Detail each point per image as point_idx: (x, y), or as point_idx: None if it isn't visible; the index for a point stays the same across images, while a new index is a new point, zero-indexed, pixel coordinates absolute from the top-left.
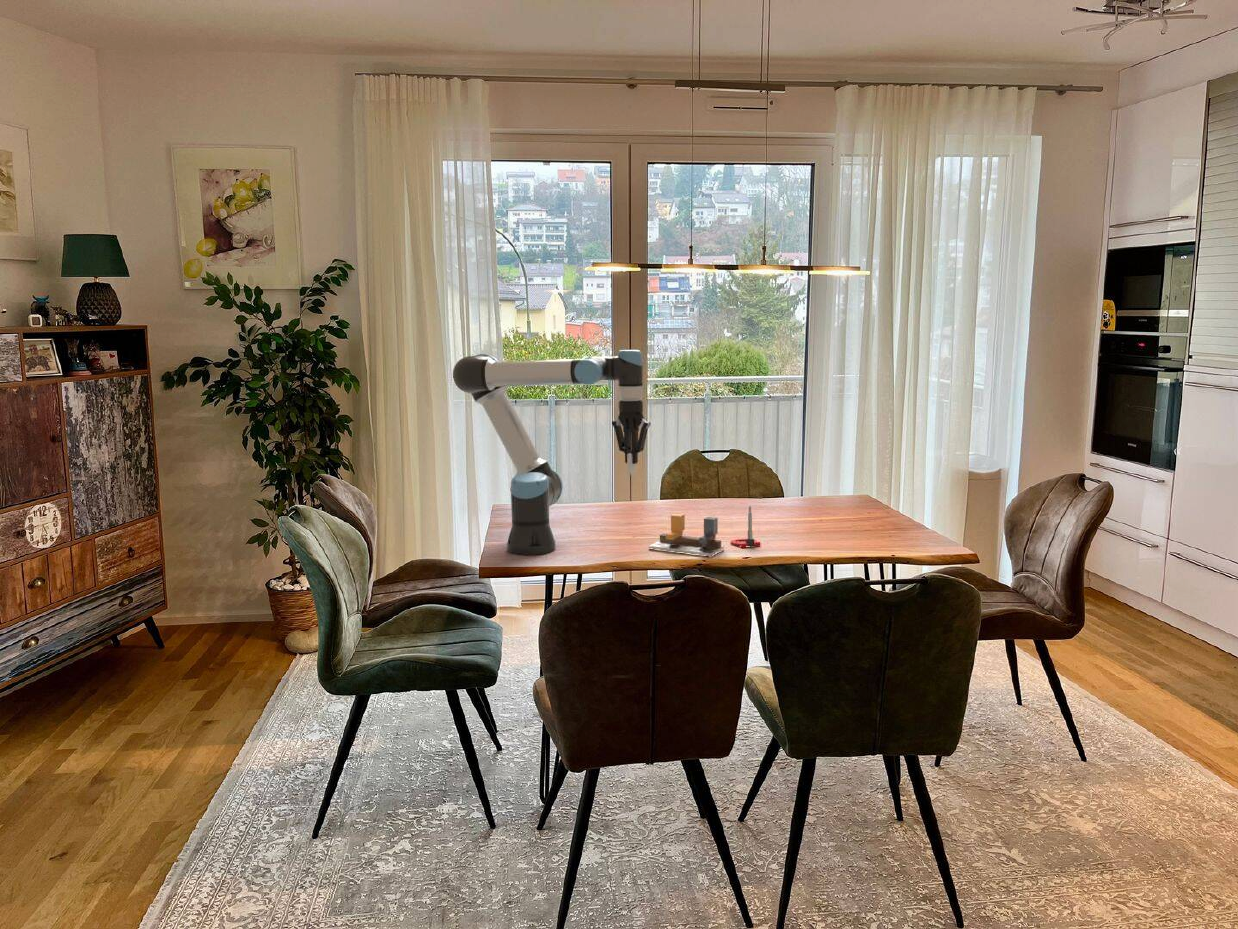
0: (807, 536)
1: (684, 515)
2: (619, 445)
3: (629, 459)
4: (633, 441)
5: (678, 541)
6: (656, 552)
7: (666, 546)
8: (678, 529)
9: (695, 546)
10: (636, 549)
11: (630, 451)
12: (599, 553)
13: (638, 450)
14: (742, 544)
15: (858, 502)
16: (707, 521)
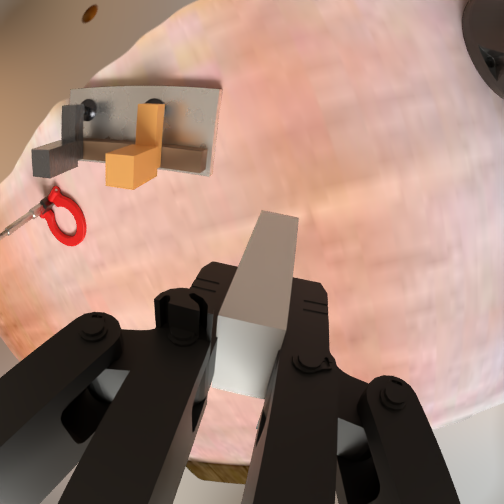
0: (32, 290)
1: (107, 184)
2: (421, 446)
3: (261, 278)
4: (104, 475)
5: None
6: (193, 72)
7: (171, 101)
8: (133, 145)
9: (111, 131)
10: (256, 82)
11: (265, 402)
12: (341, 17)
13: (85, 322)
14: (52, 189)
15: None
16: (46, 148)
